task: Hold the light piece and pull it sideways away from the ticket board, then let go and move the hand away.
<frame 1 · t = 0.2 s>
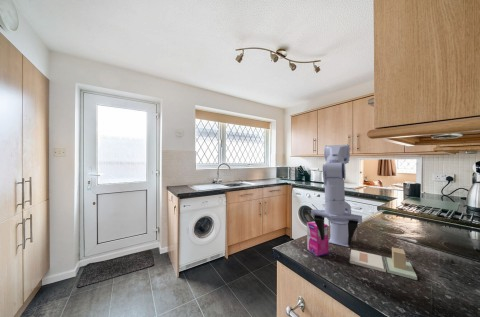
hand: (335, 241, 58), 10 cm above the countertop, fingers open, 7 cm apart
light piece: (398, 259, 60), point 3 cm above the countertop, slide at 0.0 cm
supplement box: (317, 253, 72), on the countertop
ticket board: (366, 261, 65), on the countertop
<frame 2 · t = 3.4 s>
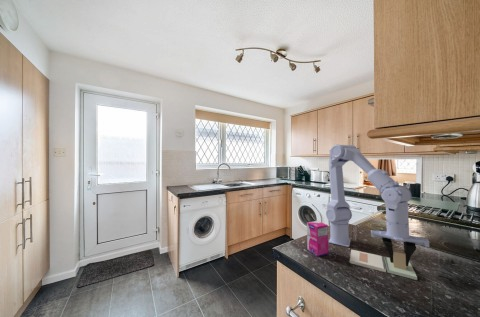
hand: (398, 263, 60), 2 cm above the countertop, fingers closed on light piece, 3 cm apart
light piece: (398, 259, 60), point 3 cm above the countertop, slide at 0.0 cm, touching gripper
everything else where it was.
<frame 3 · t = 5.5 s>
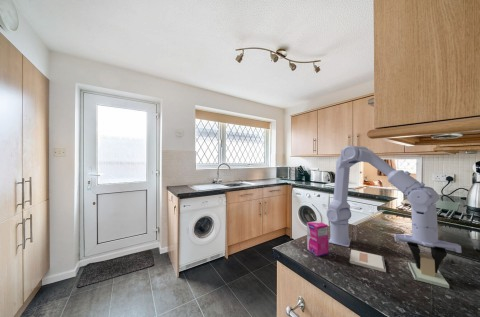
hand: (426, 269, 56), 2 cm above the countertop, fingers closed on light piece, 3 cm apart
light piece: (426, 265, 56), point 3 cm above the countertop, slide at 6.5 cm, touching gripper
everything else where it was.
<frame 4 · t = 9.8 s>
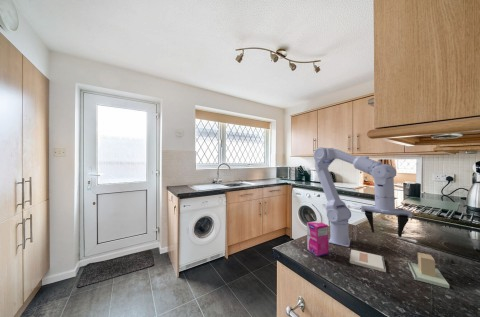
hand: (385, 233, 66), 9 cm above the countertop, fingers open, 7 cm apart
light piece: (426, 265, 56), point 3 cm above the countertop, slide at 6.5 cm
everything else where it was.
at the end: light piece slide at 6.5 cm; the gripper is holding nothing; supplement box moved 0.2 cm from its start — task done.
